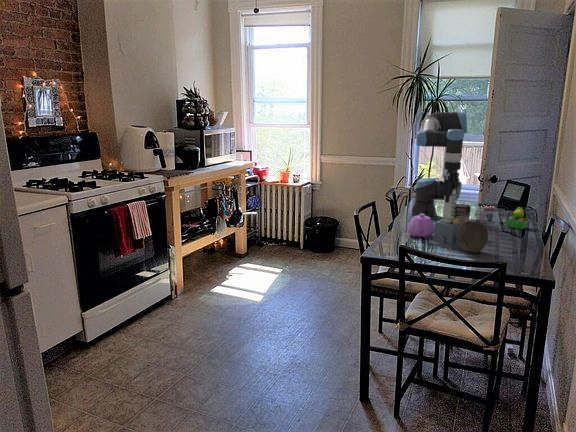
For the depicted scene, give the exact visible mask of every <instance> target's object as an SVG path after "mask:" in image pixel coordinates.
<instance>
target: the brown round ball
mask: <svg viewBox="0 0 576 432" xmlns="http://www.w3.org/2000/svg"><path fill="white" fill-rule="evenodd" d="M488 231H489V230H488V229H487V226H486V225H485V224H484V223H482V222H479V221H475V220H473V221H472V220H471V221H470V220H469V221H468V222H465V223H464V224H462V225H461V226H460V228H459V230H458V241H459V244H458V245H459V246H460V247H461V248H462V249H463V250H464V251H465V252H467V253H471V254H478V253H480V252H481V251H482V250H484V248H485V247H486V245H487V244H488V240H489V232H488Z"/></svg>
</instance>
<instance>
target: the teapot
mask: <svg viewBox="0 0 576 432" xmlns="http://www.w3.org/2000/svg"><path fill="white" fill-rule="evenodd" d="M434 229H435V223H434V221H433V220H432V217H431V218H430V217H428V216H425V214H419V215H417V216H413V217H412V219H410V221H409V223H408V225H407V231H408V233H409V234H410V235H411V236H412V238H418V237H420V238H421V237H422V238H424V239H429V237H431V236H432V235H434Z"/></svg>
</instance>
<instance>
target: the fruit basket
mask: <svg viewBox="0 0 576 432" xmlns="http://www.w3.org/2000/svg"><path fill="white" fill-rule="evenodd" d="M524 216H525V213H524V209H523V208H522V207H520V206H518V207H516V208H515V210H514V211H513V215H508V216H507V217H505V218H504V220H505V224H506V227H507V228H513V229H518V230H519V229H520V230H524V229H526V228H527V226H528V225H529V224H528V223H529V221H530V218H525V217H524Z"/></svg>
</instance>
